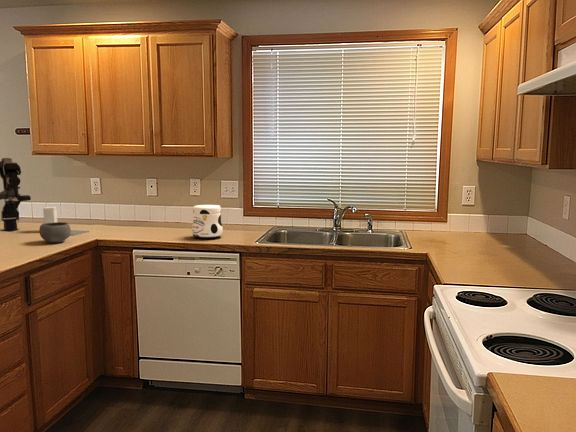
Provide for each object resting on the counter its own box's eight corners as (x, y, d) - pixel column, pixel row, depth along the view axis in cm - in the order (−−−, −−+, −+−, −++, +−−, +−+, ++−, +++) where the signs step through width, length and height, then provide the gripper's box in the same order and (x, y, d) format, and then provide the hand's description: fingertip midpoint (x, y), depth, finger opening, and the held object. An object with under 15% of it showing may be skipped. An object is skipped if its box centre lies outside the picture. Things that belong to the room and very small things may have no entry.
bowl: (62, 238, 273) (61, 220, 272) (76, 242, 264) (75, 223, 262) (34, 242, 262) (33, 223, 260) (48, 246, 252) (47, 226, 251)
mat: (49, 234, 286) (49, 233, 286) (65, 230, 300) (65, 229, 300) (74, 235, 283) (74, 234, 283) (89, 231, 296) (89, 230, 296)
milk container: (187, 239, 275) (187, 207, 273) (197, 234, 292) (197, 204, 290) (217, 240, 273) (217, 208, 270) (226, 235, 290) (225, 204, 287)
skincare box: (55, 232, 291) (54, 207, 289) (44, 233, 289) (42, 207, 287) (58, 230, 299) (57, 206, 297) (47, 230, 297) (46, 206, 295)
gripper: (-14, 185, 270) (-12, 214, 272) (15, 186, 266) (17, 215, 268) (2, 184, 281) (4, 211, 283) (30, 185, 277) (32, 212, 279)
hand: (14, 212), depth 278 cm, fingers closed
